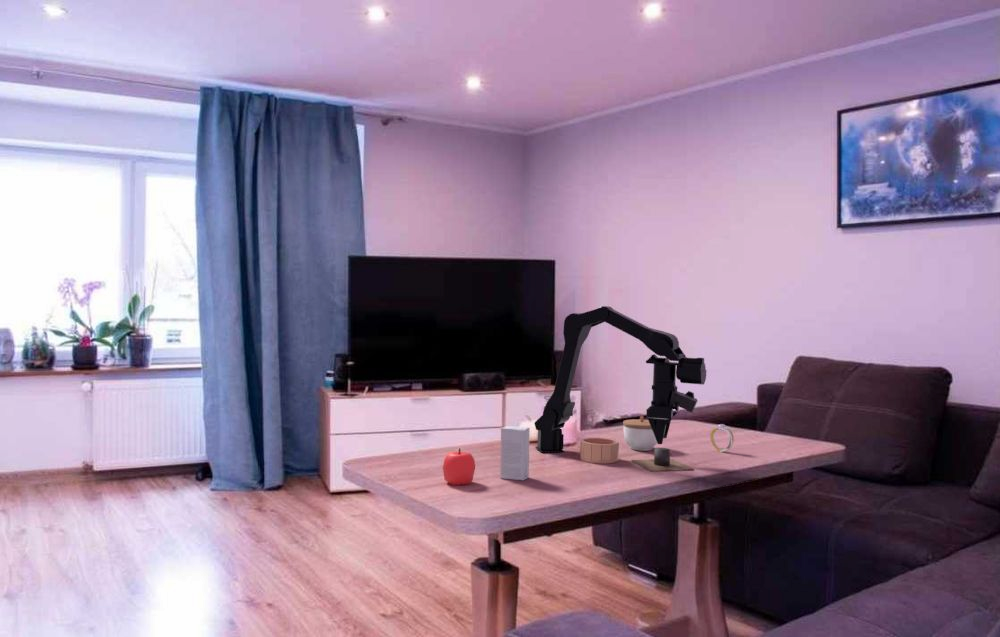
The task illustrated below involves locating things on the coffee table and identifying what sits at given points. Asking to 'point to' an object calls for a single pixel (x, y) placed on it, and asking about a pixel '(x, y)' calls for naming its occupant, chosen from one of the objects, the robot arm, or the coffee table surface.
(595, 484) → the coffee table surface
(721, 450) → the bracelet
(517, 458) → the skincare box
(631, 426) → the lidded jar
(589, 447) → the tan short open cylinder
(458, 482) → the apple
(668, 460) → the walnut lid
